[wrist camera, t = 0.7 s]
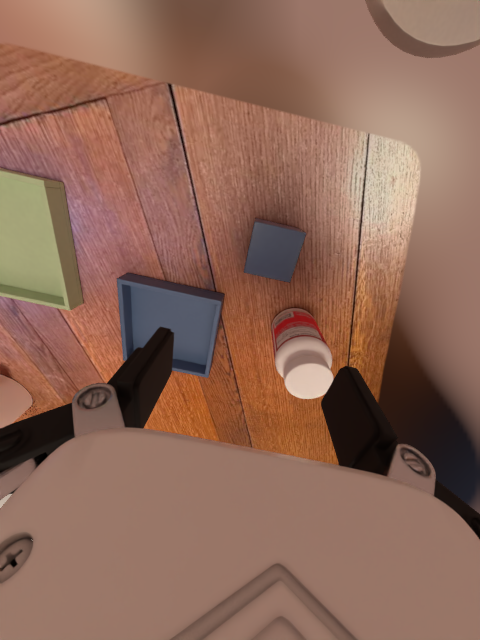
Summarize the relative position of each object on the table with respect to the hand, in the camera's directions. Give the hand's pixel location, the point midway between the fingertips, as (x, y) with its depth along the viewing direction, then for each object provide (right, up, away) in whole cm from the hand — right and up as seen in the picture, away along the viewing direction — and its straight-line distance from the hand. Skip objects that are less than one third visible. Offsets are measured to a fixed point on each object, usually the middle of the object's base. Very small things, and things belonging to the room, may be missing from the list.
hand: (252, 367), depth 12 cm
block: (+3, +12, +14) cm, 18 cm away
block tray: (-11, +2, +20) cm, 23 cm away
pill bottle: (+7, +2, +19) cm, 20 cm away
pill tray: (-29, +13, +16) cm, 35 cm away
